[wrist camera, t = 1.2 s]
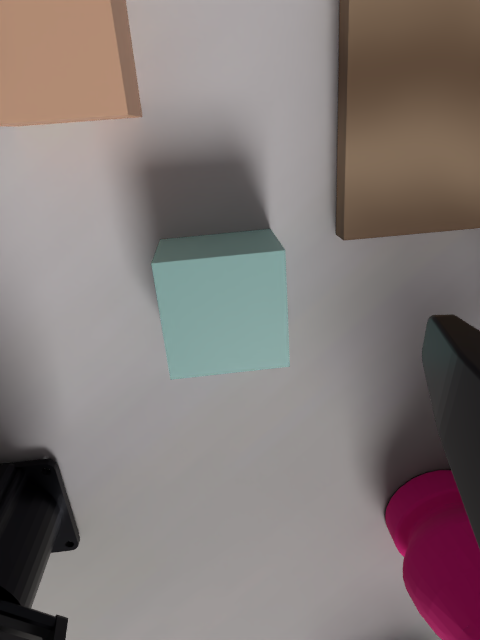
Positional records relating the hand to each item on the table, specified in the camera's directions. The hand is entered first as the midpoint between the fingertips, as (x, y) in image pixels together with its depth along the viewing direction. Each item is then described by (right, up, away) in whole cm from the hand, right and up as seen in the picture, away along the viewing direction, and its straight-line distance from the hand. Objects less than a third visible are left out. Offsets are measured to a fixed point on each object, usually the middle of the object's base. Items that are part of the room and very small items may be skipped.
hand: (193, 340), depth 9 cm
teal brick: (0, +2, +12) cm, 12 cm away
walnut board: (+10, +10, +10) cm, 17 cm away
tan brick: (-6, +11, +8) cm, 15 cm away
